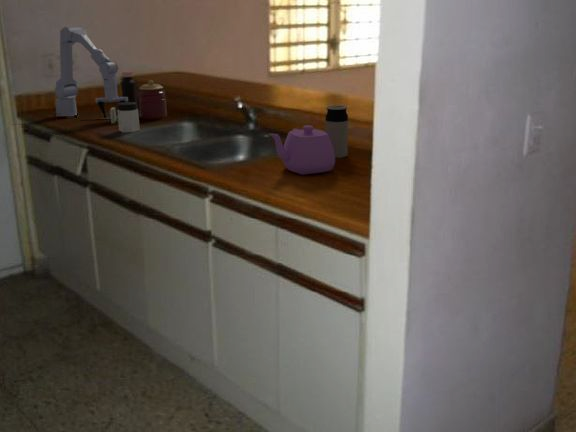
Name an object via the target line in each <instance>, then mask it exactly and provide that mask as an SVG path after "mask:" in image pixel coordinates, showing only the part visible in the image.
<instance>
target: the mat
mask: <svg viewBox="0 0 576 432" xmlns="http://www.w3.org/2000/svg"><path fill="white" fill-rule="evenodd" d="M101 119H111V115H110V116H106V118H101ZM116 120H118V114H116Z"/></svg>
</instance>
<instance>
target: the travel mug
mask: <svg viewBox="0 0 576 432" xmlns="http://www.w3.org/2000/svg"><path fill="white" fill-rule="evenodd" d="M325 108H326V109H327V113H326V114H325V132H326V133H327V134H328V136H329V138H330V141H331V143H332V146H333V149H334V154H335V159H342V158H345V157H347V156H348V144H349V143H348V136H349V135H348V131H349V130H348V129H349V128H348V127H349V126H348V125H349V114H348V113H347V109H348V106H347V105H344V104H330V105H327V106H326V107H325Z"/></svg>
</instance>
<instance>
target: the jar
mask: <svg viewBox="0 0 576 432" xmlns="http://www.w3.org/2000/svg"><path fill="white" fill-rule="evenodd" d="M116 112H117V113H118V119H117V122H118V123H117V124H118V130H119V131H120V132H121V133H123V134H124V133H135V132H139V131H140V129H141V127H140V120H139V119H140V117H139V116H140V114H139V109H138V102H137V103H136V102H121V103H120V102H118V103H117V111H116Z"/></svg>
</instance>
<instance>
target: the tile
mask: <svg viewBox="0 0 576 432" xmlns="http://www.w3.org/2000/svg"><path fill="white" fill-rule="evenodd" d="M116 112H117V111H116V107H114V106H113V107H111V108H110V109H109V114H110V115H111V120H110V123H111V124H116V122H115V121H117V119H116Z"/></svg>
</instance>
